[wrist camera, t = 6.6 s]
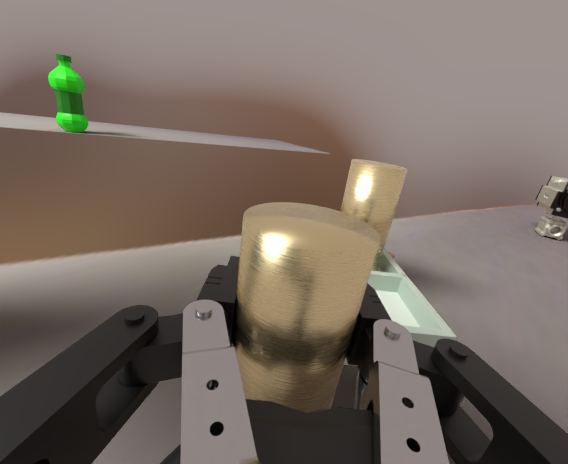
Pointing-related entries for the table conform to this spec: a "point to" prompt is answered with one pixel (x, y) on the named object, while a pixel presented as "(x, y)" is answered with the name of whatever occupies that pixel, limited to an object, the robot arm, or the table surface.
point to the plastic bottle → (68, 96)
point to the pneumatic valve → (553, 207)
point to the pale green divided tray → (407, 303)
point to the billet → (299, 300)
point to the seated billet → (374, 196)
